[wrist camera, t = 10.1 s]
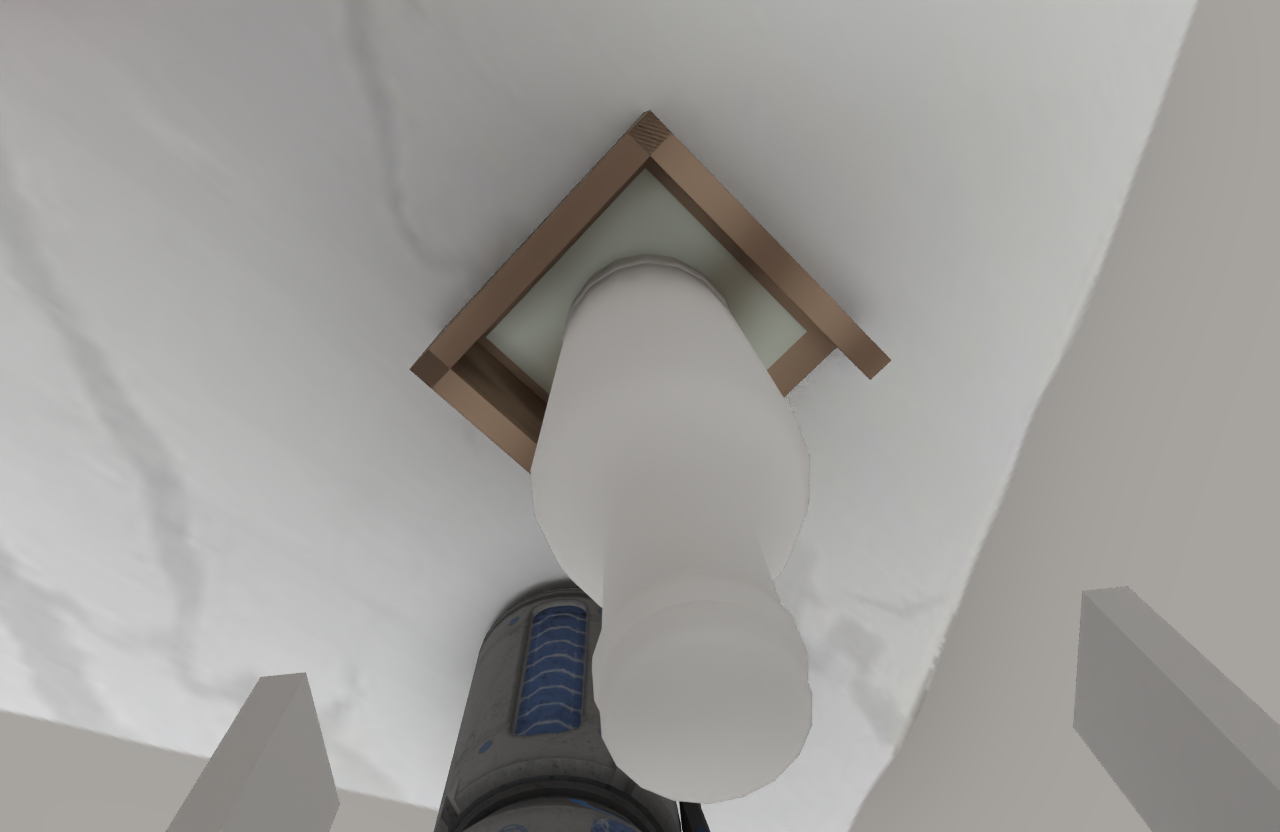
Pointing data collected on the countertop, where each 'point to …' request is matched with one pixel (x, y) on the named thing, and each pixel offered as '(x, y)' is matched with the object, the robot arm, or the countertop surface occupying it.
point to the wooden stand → (619, 228)
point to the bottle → (678, 529)
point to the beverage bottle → (545, 735)
